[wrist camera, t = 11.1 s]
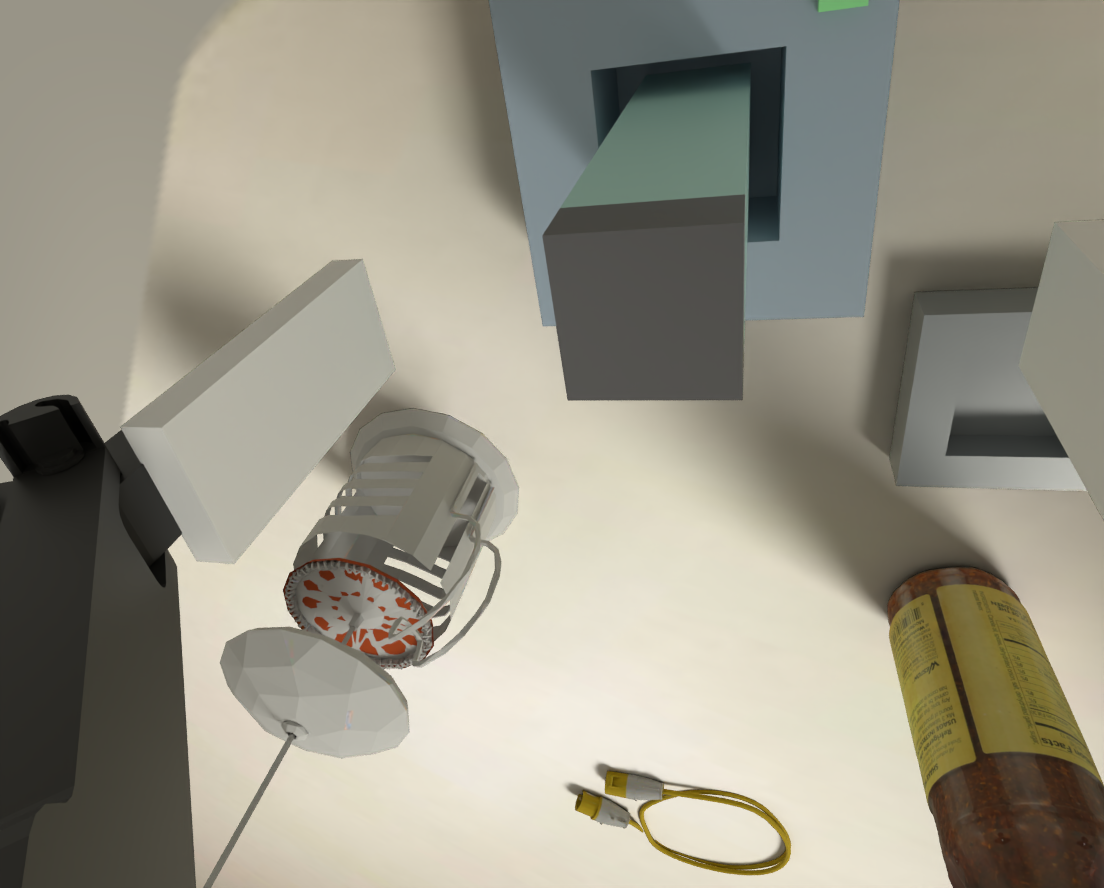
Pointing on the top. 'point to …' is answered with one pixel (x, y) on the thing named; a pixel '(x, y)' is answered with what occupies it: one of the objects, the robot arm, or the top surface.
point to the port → (775, 122)
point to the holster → (973, 398)
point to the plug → (658, 246)
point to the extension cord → (654, 791)
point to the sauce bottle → (994, 737)
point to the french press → (373, 589)
